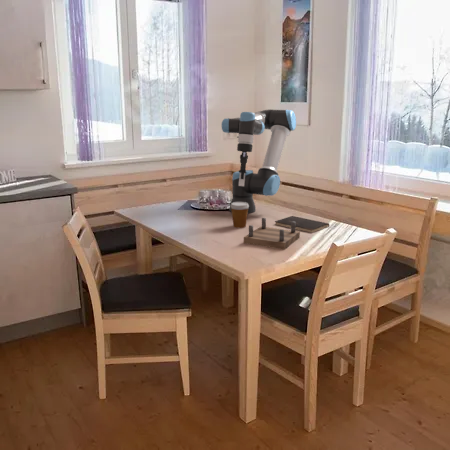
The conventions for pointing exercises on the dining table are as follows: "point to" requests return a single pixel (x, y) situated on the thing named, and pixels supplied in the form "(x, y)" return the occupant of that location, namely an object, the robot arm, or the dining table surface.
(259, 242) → the peg board
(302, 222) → the hardcover book
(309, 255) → the dining table surface
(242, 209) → the disposable coffee cup
